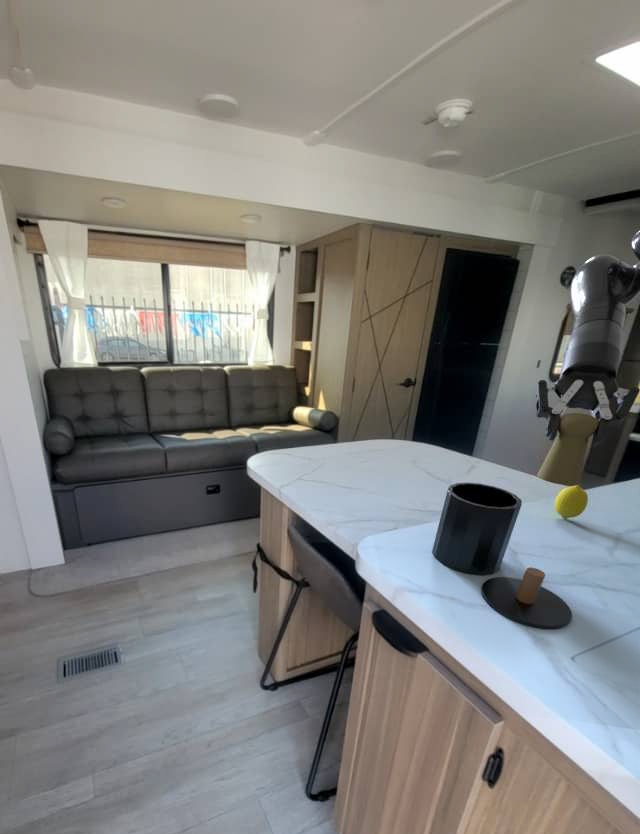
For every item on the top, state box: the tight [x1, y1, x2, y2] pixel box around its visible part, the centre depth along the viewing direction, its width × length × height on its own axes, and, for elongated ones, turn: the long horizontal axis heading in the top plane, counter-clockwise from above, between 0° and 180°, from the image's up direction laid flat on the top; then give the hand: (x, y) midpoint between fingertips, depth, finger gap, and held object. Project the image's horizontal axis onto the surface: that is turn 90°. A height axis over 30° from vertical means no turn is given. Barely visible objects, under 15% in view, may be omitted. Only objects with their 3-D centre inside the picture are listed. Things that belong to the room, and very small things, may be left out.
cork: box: [536, 412, 598, 486], centre depth 67 cm, size 6×6×11 cm
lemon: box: [554, 484, 589, 520], centre depth 89 cm, size 6×6×8 cm
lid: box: [480, 567, 573, 630], centre depth 61 cm, size 12×12×6 cm
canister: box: [431, 482, 523, 577], centre depth 71 cm, size 11×11×13 cm
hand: (574, 440), depth 65 cm, fingers closed on cork, 5 cm apart
